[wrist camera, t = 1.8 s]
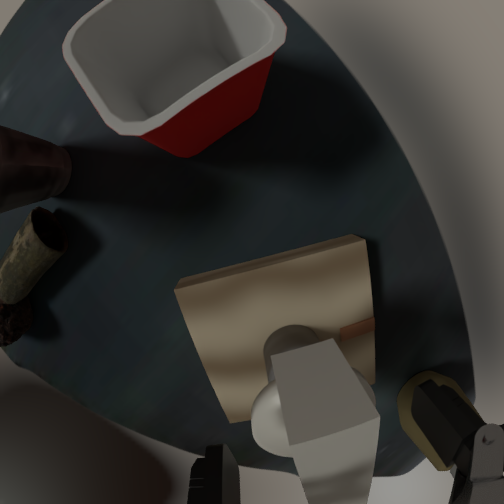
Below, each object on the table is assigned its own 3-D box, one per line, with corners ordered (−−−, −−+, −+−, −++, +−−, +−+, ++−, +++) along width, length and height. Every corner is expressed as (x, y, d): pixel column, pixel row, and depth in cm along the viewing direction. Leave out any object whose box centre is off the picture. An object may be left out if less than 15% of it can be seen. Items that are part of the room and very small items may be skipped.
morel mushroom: (51, 203, 19) (11, 209, 14) (90, 262, 21) (56, 284, 15) (-13, 301, 21) (-40, 319, 15) (18, 346, 22) (-7, 369, 17)
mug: (271, 107, 19) (304, 39, 8) (181, 170, 19) (126, 154, 9) (186, 14, 16) (162, -67, 6) (106, 69, 17) (38, 14, 6)
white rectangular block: (224, 351, 12) (218, 459, 6) (364, 312, 12) (436, 389, 6) (271, 466, 15) (282, 537, 9) (366, 439, 15) (396, 502, 9)
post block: (180, 278, 21) (147, 335, 12) (352, 233, 21) (417, 263, 12) (230, 405, 24) (230, 478, 16) (365, 368, 24) (404, 428, 16)
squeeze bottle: (446, 379, 26) (520, 462, 9) (400, 419, 27) (459, 515, 10) (431, 350, 25) (527, 447, 7) (377, 397, 26) (448, 516, 8)
